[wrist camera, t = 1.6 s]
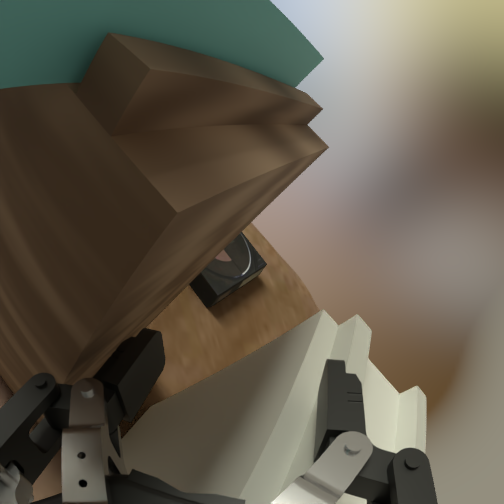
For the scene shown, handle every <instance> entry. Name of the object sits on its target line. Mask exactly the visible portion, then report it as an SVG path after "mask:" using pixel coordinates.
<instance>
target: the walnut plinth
mask: <svg viewBox="0 0 504 504" xmlns="http://www.w3.org/2000/svg"><path fill="white" fill-rule="evenodd" d="M321 110H323V108H321V107H320V106H319V105H318V104H317V103H316V102H315V101H314V100H313V99H312V98H311V97H310V96H309V95H308V94H307V93H305V92H303V91H300V90H298V89H296V88H294V87H291V86H289V85H287V84H284V83H282V82H280V81H277V80H275V79H272V78H270V77H267V76H265V75H262V74H260V73H257V72H254V71H252V70H249V69H246V68H243V67H241V66H238V65H235V64H232V63H229V62H226V61H223V60H220V59H217V58H214V57H211V56H207V55H204V54H201V53H197V52H194V51H191V50H187V49H183V48H180V47H176V46H172V45H168V44H164V43H160V42H155V41H151V40H146V39H142V38H137V37H132V36H127V35H121V34H116V33H109V32H108V33H107V35H106V37H105V38H104V40H103V42H102V44H101V45H100V47H99V49H98V51H97V53H96V54H95V56H94V58H93V60H92V62H91V64H90V66H89V68H88V69H87V71H86V73H85V75H84V77H83V80H82V82H81V83H56V84H41V85H29V86H20V87H11V88H3V89H0V376H1V377H2V378H3V380H4V381H5V383H6V384H7V385H8V387H9V388H10V389H11V391H12V392H13V393H14V394H15V393H16V392H17V391H18V390H19V389H20V388H21V387H22V386H23V385H24V384H25V383H26V382H27V381H28V380H29V379H30V378H31V377H33V376H34V375H36V374H38V373H49V374H51V375H53V376H54V378H55V380H56V382H57V383H59V384H67V385H74V384H75V383H76V382H77V381H79V380H81V379H83V378H93V377H94V375H95V374H96V373H97V372H98V370H99V369H100V368H101V367H102V366H103V364H104V363H105V362H106V361H107V359H108V358H109V357H111V355H112V353H113V352H114V351H116V349H117V347H118V346H119V345H120V344H121V343H122V342H123V341H124V340H126V339H128V338H129V337H131V336H132V337H136V336H137V335H138V333H139V332H140V331H141V330H142V329H143V328H146V327H147V326H148V325H149V324H150V323H151V322H152V321H153V320H154V319H155V318H156V317H157V316H158V315H159V314H160V313H161V312H162V311H163V310H164V309H165V308H166V307H167V306H168V305H169V304H170V303H171V302H172V301H173V300H174V299H175V298H176V297H177V296H178V295H179V294H180V293H181V292H182V291H183V290H184V289H185V288H186V287H187V285H188V284H189V283H190V282H191V281H192V280H193V279H194V278H195V277H196V276H197V275H198V274H199V273H200V272H201V271H202V270H203V269H204V268H205V267H206V266H207V265H208V264H209V263H210V262H211V261H212V260H213V259H214V258H215V257H216V256H217V255H218V254H219V253H220V252H221V251H222V250H223V249H224V248H225V247H226V246H227V245H228V244H229V243H230V242H232V241H233V240H234V239H235V238H236V237H237V236H238V235H239V234H240V233H241V232H242V231H243V230H244V229H245V228H246V227H247V226H248V225H249V224H250V223H251V222H252V221H253V220H254V219H255V218H256V217H257V216H258V215H259V214H260V213H261V212H262V211H263V210H264V209H265V208H266V207H267V206H268V205H269V204H270V203H271V202H272V201H273V200H274V199H275V198H276V197H277V196H278V195H280V194H281V192H283V191H284V190H285V189H286V188H287V187H288V186H289V185H290V184H291V183H292V182H293V181H294V180H295V179H296V178H297V177H298V176H299V175H300V174H301V173H302V172H303V171H304V170H306V168H307V167H309V165H311V164H312V163H313V162H314V161H315V160H316V159H317V158H318V157H319V156H320V155H321V154H322V153H323V152H324V151H325V150H327V149H328V148H329V147H328V146H327V145H326V144H325V142H324V141H322V139H321V138H319V136H318V135H317V134H316V133H315V132H314V131H313V130H312V129H311V128H310V127H309V126H308V125H307V124H308V123H309V122H310V121H311V120H312V119H313V118H314V117H315V116H316V115H317V114H318V113H320V111H321ZM43 418H44V416H43V414H42V415H41V417H40V418H39V419H38V420H37V423H38V424H39V423H40V422H41V420H42V419H43Z"/></svg>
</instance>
